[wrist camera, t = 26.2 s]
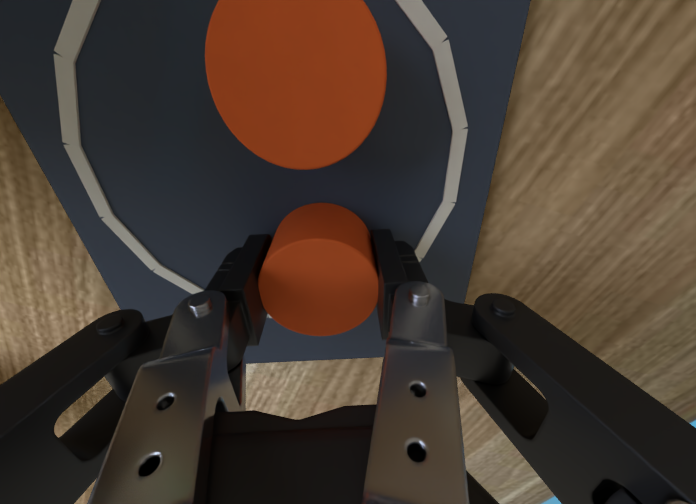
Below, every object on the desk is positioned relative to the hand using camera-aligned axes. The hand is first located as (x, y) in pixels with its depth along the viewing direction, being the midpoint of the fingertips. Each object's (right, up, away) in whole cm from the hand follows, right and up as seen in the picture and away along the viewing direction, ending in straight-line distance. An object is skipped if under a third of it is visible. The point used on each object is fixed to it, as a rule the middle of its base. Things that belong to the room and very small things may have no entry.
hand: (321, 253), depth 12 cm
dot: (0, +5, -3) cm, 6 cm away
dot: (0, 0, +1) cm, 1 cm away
